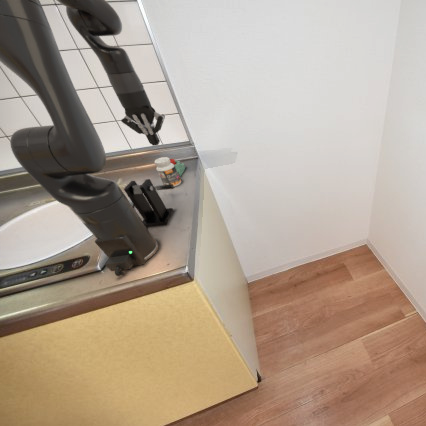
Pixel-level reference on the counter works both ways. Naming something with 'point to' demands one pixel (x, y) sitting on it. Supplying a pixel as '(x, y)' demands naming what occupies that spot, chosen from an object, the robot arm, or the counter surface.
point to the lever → (138, 191)
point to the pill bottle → (167, 171)
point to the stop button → (172, 161)
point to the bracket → (150, 215)
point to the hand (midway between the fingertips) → (156, 144)
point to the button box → (179, 167)
